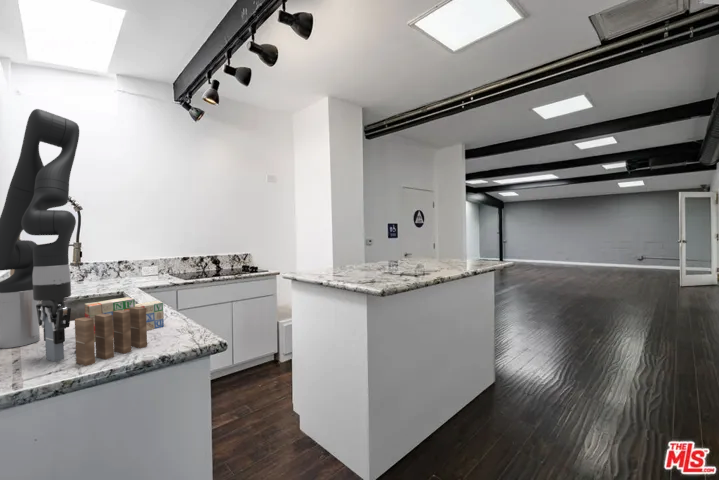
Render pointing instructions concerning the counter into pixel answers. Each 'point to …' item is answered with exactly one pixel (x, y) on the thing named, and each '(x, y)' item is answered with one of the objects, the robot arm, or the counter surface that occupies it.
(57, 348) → the domino
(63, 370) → the counter surface
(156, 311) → the stack of blocks
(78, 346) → the domino
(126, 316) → the domino
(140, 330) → the domino
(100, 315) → the domino
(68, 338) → the counter surface
